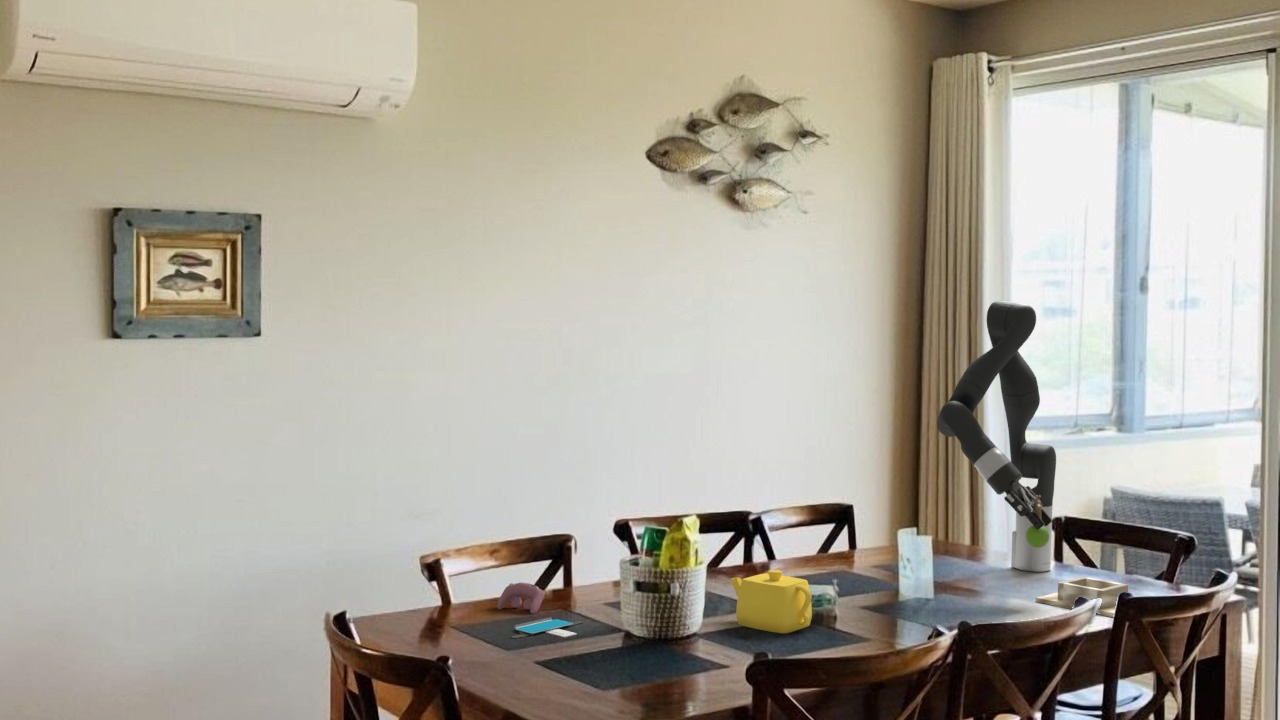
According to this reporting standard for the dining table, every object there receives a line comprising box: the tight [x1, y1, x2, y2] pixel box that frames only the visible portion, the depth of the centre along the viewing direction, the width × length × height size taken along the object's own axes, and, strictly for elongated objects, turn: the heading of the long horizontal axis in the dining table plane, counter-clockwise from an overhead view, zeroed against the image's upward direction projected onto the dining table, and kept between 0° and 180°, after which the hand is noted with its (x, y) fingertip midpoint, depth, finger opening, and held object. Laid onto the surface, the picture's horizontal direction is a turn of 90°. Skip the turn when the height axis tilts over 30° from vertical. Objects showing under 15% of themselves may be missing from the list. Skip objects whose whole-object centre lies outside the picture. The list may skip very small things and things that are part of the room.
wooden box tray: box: [1035, 576, 1129, 618], centre depth 317 cm, size 20×16×5 cm
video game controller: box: [496, 582, 545, 615], centre depth 301 cm, size 10×5×7 cm, turn 66°
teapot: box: [730, 569, 813, 634], centre depth 292 cm, size 20×12×12 cm, turn 51°
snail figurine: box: [1025, 495, 1049, 548], centre depth 321 cm, size 5×6×12 cm
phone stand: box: [511, 616, 584, 639], centre depth 283 cm, size 20×12×2 cm, turn 138°
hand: (1045, 525), depth 320 cm, fingers closed on snail figurine, 5 cm apart
